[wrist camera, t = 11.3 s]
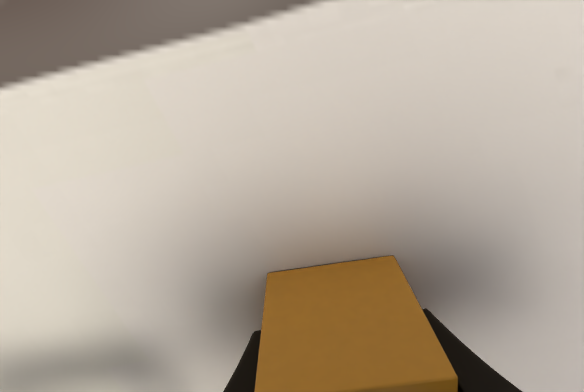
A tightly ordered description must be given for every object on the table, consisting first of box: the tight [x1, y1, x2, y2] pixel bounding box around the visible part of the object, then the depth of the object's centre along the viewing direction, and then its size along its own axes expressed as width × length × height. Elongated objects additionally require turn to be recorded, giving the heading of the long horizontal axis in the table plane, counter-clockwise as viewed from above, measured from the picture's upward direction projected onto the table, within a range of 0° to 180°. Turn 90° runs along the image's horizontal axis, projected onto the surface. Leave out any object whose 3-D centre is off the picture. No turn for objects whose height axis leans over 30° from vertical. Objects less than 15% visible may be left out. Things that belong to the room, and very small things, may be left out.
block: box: [254, 255, 458, 392], centre depth 11 cm, size 4×4×5 cm
